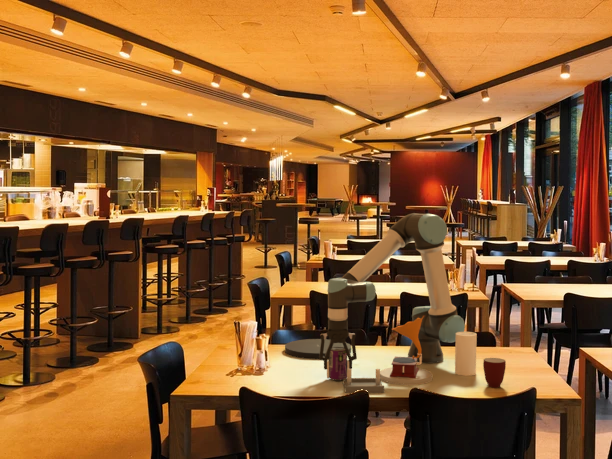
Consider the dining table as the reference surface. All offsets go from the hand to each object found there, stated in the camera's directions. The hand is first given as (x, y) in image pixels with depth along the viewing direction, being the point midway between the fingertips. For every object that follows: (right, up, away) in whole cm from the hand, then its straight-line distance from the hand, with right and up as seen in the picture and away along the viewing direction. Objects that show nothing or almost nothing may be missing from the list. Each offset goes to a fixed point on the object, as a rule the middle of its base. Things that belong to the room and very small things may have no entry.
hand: (338, 377), depth 296 cm
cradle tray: (+9, -2, -12) cm, 15 cm away
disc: (-7, +2, +50) cm, 50 cm away
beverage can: (0, -1, 0) cm, 1 cm away
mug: (+58, -2, -8) cm, 59 cm away
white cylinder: (+52, -1, +11) cm, 53 cm away
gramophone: (+27, -1, +3) cm, 27 cm away
